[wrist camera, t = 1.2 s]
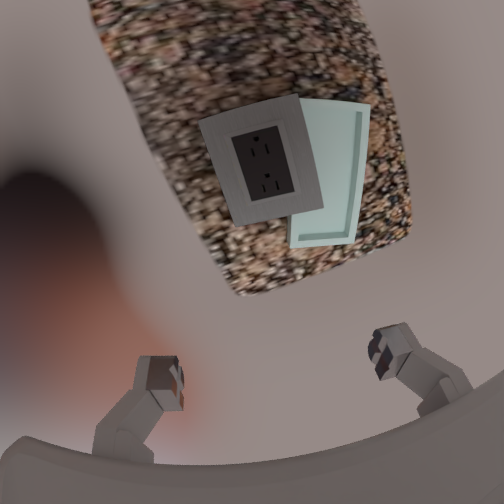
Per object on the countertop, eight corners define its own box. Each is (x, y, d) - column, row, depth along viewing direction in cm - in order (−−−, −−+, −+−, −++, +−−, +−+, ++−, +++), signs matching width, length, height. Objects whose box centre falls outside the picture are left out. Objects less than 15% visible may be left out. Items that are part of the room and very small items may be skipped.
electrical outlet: (202, 118, 28) (196, 121, 26) (295, 92, 25) (297, 93, 23) (237, 219, 34) (235, 228, 32) (321, 200, 32) (324, 209, 30)
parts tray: (289, 97, 27) (294, 98, 25) (362, 103, 27) (370, 104, 26) (286, 240, 37) (290, 248, 35) (348, 235, 38) (353, 243, 36)
